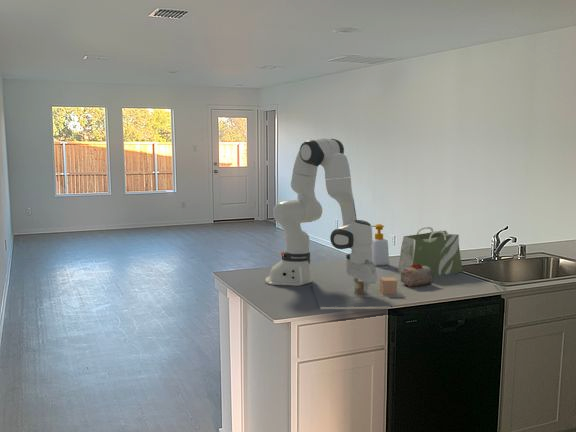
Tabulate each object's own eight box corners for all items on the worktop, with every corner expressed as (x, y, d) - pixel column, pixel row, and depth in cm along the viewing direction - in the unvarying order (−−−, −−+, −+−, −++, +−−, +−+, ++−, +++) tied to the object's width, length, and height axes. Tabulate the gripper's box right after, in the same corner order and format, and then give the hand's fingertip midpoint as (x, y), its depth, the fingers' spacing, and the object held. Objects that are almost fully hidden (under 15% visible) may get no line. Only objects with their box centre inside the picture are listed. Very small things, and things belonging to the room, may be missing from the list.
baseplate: (349, 299, 234) (349, 297, 234) (344, 290, 248) (344, 288, 248) (405, 298, 235) (406, 296, 235) (397, 290, 249) (398, 288, 249)
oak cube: (356, 294, 239) (356, 283, 238) (354, 291, 243) (355, 281, 243) (367, 294, 239) (367, 283, 238) (365, 291, 243) (365, 281, 243)
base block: (382, 294, 238) (383, 280, 238) (380, 290, 244) (380, 277, 244) (396, 294, 239) (397, 280, 238) (393, 290, 245) (393, 277, 244)
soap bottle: (359, 263, 308) (360, 223, 305) (382, 262, 312) (383, 222, 309) (367, 266, 299) (367, 226, 296) (390, 265, 303) (391, 225, 300)
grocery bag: (413, 278, 274) (414, 231, 271) (396, 272, 286) (398, 227, 283) (464, 272, 287) (466, 228, 284) (446, 267, 299) (447, 224, 296)
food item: (409, 288, 254) (410, 267, 253) (399, 284, 261) (399, 263, 260) (433, 285, 260) (434, 264, 258) (422, 281, 267) (423, 261, 266)
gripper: (380, 262, 231) (379, 294, 233) (356, 253, 250) (355, 283, 251) (367, 263, 228) (366, 295, 230) (344, 254, 247) (343, 284, 249)
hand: (360, 289), depth 241 cm, fingers closed on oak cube, 5 cm apart
